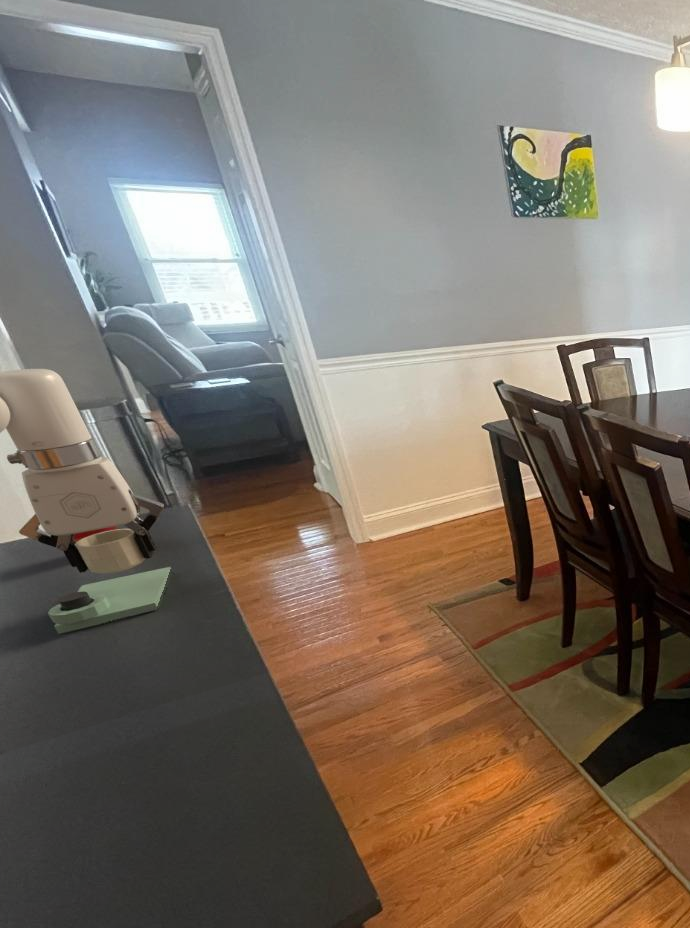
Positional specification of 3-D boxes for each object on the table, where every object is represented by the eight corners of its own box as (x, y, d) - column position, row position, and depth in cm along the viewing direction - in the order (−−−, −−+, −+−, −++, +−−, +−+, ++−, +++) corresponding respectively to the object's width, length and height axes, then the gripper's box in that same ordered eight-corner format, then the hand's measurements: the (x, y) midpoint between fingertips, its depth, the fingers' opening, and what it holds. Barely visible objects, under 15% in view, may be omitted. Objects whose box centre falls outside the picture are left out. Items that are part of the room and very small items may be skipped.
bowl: (85, 580, 91) (69, 551, 89) (96, 563, 96) (81, 535, 94) (144, 567, 95) (130, 539, 93) (152, 552, 100) (138, 525, 98)
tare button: (61, 614, 87) (55, 603, 86) (67, 605, 89) (61, 595, 88) (89, 607, 89) (84, 597, 88) (94, 599, 91) (89, 589, 90)
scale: (53, 637, 86) (42, 619, 85) (81, 593, 98) (72, 577, 97) (158, 611, 92) (150, 595, 91) (173, 573, 104) (166, 558, 102)
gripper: (-36, 474, 81) (33, 588, 88) (136, 450, 90) (185, 555, 97) (-15, 461, 86) (48, 569, 94) (145, 439, 95) (191, 539, 103)
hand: (118, 561), depth 95 cm, fingers closed on bowl, 6 cm apart
